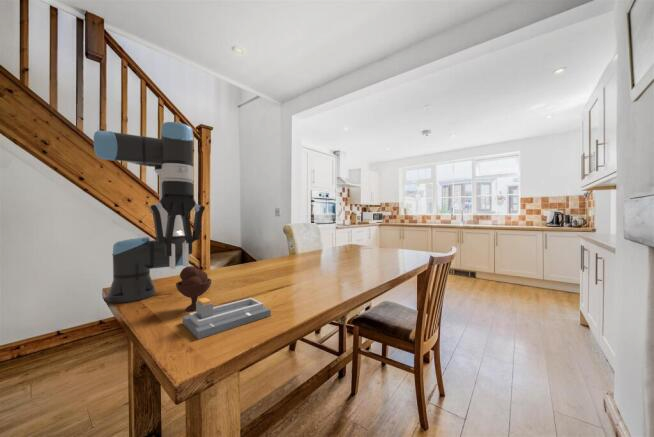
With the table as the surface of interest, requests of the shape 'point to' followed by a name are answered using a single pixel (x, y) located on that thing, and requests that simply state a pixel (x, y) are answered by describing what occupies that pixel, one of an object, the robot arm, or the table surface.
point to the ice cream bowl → (193, 284)
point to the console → (226, 317)
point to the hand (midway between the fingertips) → (179, 266)
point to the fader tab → (204, 308)
